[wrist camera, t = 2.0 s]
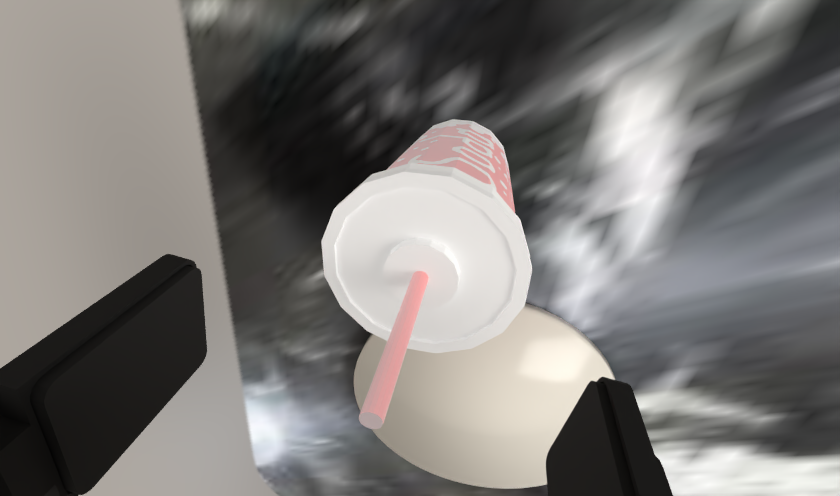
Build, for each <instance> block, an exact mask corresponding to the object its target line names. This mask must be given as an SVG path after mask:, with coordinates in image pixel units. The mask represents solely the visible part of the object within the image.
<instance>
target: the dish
mask: <svg viewBox="0 0 840 496" xmlns="http://www.w3.org/2000/svg"><path fill="white" fill-rule="evenodd" d="M386 344H387V341H386V340H384V339H382V338H380V337H378V336H376V335H374V334H371V335H370V337H369V338H368V339H367V341H366V343H365V345H364V347H363V349H362V351H361V353H360V356H359V358H358V360H357V364H356V367H355V371H354V392H355V397H356V400H357V404H358V407H359V409H360V411H361V410H362V407H363V404H364V402H365V399H366V397H367V394H368V391H369V389H370V386H371V383H372V381H373V378H374V375H375V373H376V370H377V368H378V365H379V362H380V360H381V357H382V354H383V352H384V349H385V346H386ZM601 377H606V378H609V379H613V380H615V377H614V374H613V372H612V370H611V368H610V365H609V363H608V362H607V360H606V359H605V357H604V356H603V354H602V353H601V351H600V350H599V349H598V348H597V347H596V346H595V345H594V344H593V342H592V341H591V340H590V339H589V338H588V337H587V336H585V335H584V334H583V333H582V332H580V331H579V330H578V329H577V328H575V327H574V326H573V325H571V324H570V323H568V322H566V321H565V320H563V319H561V318H560V317H558V316H556V315H554V314H552V313H550V312H548V311H546V310H543V309H541V308H539V307H536V306H533V305H530V304H527V303H525V306H524V307H523V308H522V310H521V311H520V312H519V313H518V315H517V316H516V317H515V318H514V320H513V321H512V322H511V323H510V324H509V326H508V327H507V328H506V329H505V331H504V332H503V333H501V334H499V335H497V336H495V337H493V338H491V339H490V340H488V341H486V342H484V343H482V344H480V345H478V346H476V347H474V348H472V349H465V350H458V351H450V352H443V353H431V352H425V351H419V350H413V349H408V348H407V350H406V353H405V356H404V359H403V363H402V366H401V369H400V372H399V375H398V378H397V382H396V385H395V388H394V391H393V394H392V398H391V401H390V404H389V407H388V410H387V413H386V417H385V420H384V423H383V425H382V427H381V428H379V429H372V430H373V432H374V433H375V434H376V435H377V437H378V438H379V439H381V440H382V441H383V442H384V443H385V444H386V445H387V446H388V447H389V448H390V449H392V450H393V451H394V452H395V453H397V454H398V455H399V456H401V457H402V458H404V459H405V460H407V461H408V462H410V463H412V464H414V465H416V466H418V467H419V468H421V469H423V470H426V471H428V472H430V473H432V474H435V475H438V476H440V477H443V478H446V479H449V480H453V481H456V482H460V483H464V484H469V485H474V486H480V487H489V488H506V489H510V488H527V487H535V486H540V485H545V484H547V476H546V458H547V454H548V451H549V449H550V448H551V446H552V444H553V443H554V441H555V439H556V437H557V436H558V434H559V432H560V431H561V429H562V427H563V426H564V424H565V422H566V421H567V419H568V417H569V415H570V414H571V412H572V410H573V409H574V407H575V405H576V404H577V402H578V400H579V399H580V397H581V395H582V393H583V392H584V390H585V388H586V387H587V385H588V384H589V382H590V381H596V382H597V380H598V379H599V378H601Z"/></svg>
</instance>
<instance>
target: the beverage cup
mask: <svg viewBox="0 0 840 496" xmlns="http://www.w3.org/2000/svg"><path fill="white" fill-rule="evenodd" d="M321 243H322V254H323V265H324V276H325V278H326V279H327V281H328V283H329V285H330V287H331V289H332V291H333V293H334V295H335V297H336V298H337V300H338V302H339V304H340V306H341V307H342V308H343V309H344V310H345V311H346V312H347V313H348V314H349V315H350V316H351V317H353V318H354V319H355V320H356V321H357V322H358V323H359V324H360V325H361V326H362V327H363V328H364V329H365V330H366V331H368V332H370V333H372V334H374V335H376V336H378V337H380V338H382V339H384V340H386V341H387V344H386V346H385V349H384V352H383V354H382V357H381V360H380V362H379V365H378V368H377V370H376V373H375V375H374V378H373V381H372V383H371V386H370V389H369V391H368V394H367V397H366V399H365V402H364V404H363V407H362V410H361V412H360V415H359V421H360V422H361V424H362V425H364V426H365V427H367V428H370V429H379V428H381V427H382V425H383V423H384V420H385V417H386V413H387V410H388V407H389V404H390V401H391V398H392V394H393V391H394V388H395V385H396V382H397V378H398V375H399V372H400V369H401V366H402V363H403V359H404V356H405V353H406V350H407V348H408V349H413V350H419V351H425V352H431V353H443V352H450V351H458V350H465V349H472V348H474V347H476V346H478V345H480V344H482V343H484V342H486V341H488V340H490V339H491V338H493V337H495V336H497V335H499V334H501V333H503V332H504V331H505V329H506V328H507V327H508V326H509V324H510V323H511V322H512V321H513V320H514V318H515V317H516V316H517V315H518V313H519V312H520V311H521V310H522V308H523V307H524V306H525V302H526V297H527V292H528V288H529V283H530V278H531V274H532V264H531V261H530V254H529V250H528V246H527V243H526V239H525V235H524V232H523V228H522V224H521V221H520V219H519V218H518V216H517V215H516V214H515V209H514V202H513V195H512V188H511V181H510V174H509V167H508V163H507V159H506V155H505V151H504V148H503V146H502V144H501V143H500V142H499V141H498V139H497V138H496V137H495V136H494V134H493V133H492V132H491V131H490V130H488V129H486V128H485V127H483V126H481V125H479V124H477V123H475V122H473V121H465V120H454V119H452V120H449V121H446V122H443V123H440V124H437V125H433V126H432V127H431V128H430V129H429V130H428V131H427V132H426V133H424V134H423V135H422V136H421V137H420V138H419V139H418V140H417V141H416V142H415V143H414V144H413V145H411V146H410V147H409V148H408V149H407V150H406V151H405V152H404V153H403V154H402V155H401V156H400V157H399V158H398V159H397V160H396V161H395V162H394V163H393V164H392V165H391V166H390V167H389V168H388V169H387V170H385V171H381V172H378V173H375V174H372V175H371V176H369V177H368V178H367V179H366V180H365V181H364V182H363V183H362V184H360V185H359V186H358V187H357V188H356V189H355V190H354V191H353V192H351V193H350V194H349V195H348V196H347V197H346V198H345V199H344V200H343V201H342V202H340V203H339V204H338V205H337V206H336V207H335V209H334V210H333V213H332V216H331V218H330V221H329V223H328V226H327V228H326V231H325V234H324V236H323V239H322V241H321Z"/></svg>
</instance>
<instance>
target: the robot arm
mask: <svg viewBox="0 0 840 496" xmlns="http://www.w3.org/2000/svg"><path fill="white" fill-rule="evenodd" d="M206 353H207V345H206V330H205V316H204V302H203V288H202V275H201V271H200V269H198V268H196V264H195V262H194V261H192V260H189V259H185V258H182V257H178V256H175V255H171V254H166V255H164V256H162V257H161V258H159V259H158V260H156V261H155V262H154V263H152V264H151V265H149V266H148V267H146V268H145V269H143V270H142V271H141V272H139V273H138V274H136V275H135V276H133V277H132V278H130V279H129V280H128V281H126V282H125V283H123V284H122V285H120V286H119V287H117V288H116V289H115V290H113V291H112V292H110V293H109V294H107V295H106V296H104V297H103V298H102V299H100V300H99V301H97V302H96V303H94V304H93V305H91V306H90V307H89V308H87V309H86V310H84V311H83V312H81V313H80V314H78V315H77V316H76V317H74V318H73V319H71V320H70V321H69V322H67V323H66V324H64V325H63V326H61V327H60V328H58V329H57V330H55V331H54V332H52V333H51V334H50V335H48V336H47V337H45V338H44V339H42V340H41V341H40V342H38V343H37V344H35V345H34V346H32V347H31V348H29V349H28V350H27V351H25V352H24V353H22V354H21V355H19V356H18V357H16V358H15V359H13V360H12V361H11V362H9V363H8V364H6V365H5V366H3V367H2V368H0V496H78V495H83V494H85V493H87V492H88V491H89V490H91V489H92V488H93V487H94V486H95V485H96V484H97V482H98V481H99V480H100V479H101V478H102V477H103V476H104V474H105V473H106V472H107V471H108V470H109V469H110V468H111V466H112V465H113V464H114V463H115V462H116V461H117V460H118V459H119V457H120V456H121V455H122V454H123V453H124V452H125V450H126V449H127V448H128V447H129V446H130V445H131V444H132V443H133V442H134V440H135V439H136V438H137V437H138V436H139V435H140V434H141V432H142V431H143V430H144V429H145V428H146V427H147V426H148V425H149V423H150V422H151V421H152V420H153V419H154V418H155V416H156V415H157V414H158V413H159V412H160V411H161V410H162V409H163V407H164V406H165V405H166V404H167V403H168V402H169V401H170V400H171V398H172V397H173V396H174V395H175V394H176V393H177V391H178V390H179V389H180V388H181V387H182V386H183V385H184V383H185V382H186V381H187V380H188V379H189V378H190V377H191V376H192V374H193V373H194V372H195V371H196V370H197V369H198V368H199V366H200V365H201V364H202V363H203V361H204V359H205V357H206ZM546 476H547V487H548V496H673V495H672V492H671V489H670V486H669V483H668V480H667V477H666V475H665V472H664V469H663V467H662V464H661V462H660V460H659V459H658V458H657V457H656V456H655V455H654V452H653V449H652V446H651V443H650V440H649V437H648V434H647V431H646V428H645V425H644V422H643V419H642V416H641V413H640V411H639V408H638V405H637V402H636V399H635V396H634V393H633V390H632V388H631V386H630V385H629V384H627V383H624V382H620V381H616V380H613V379H609V378H606V377H601V378H599V379H598V380H597V382H596V381H590V382H589V384H588V385H587V387H586V388H585V390H584V392H583V393H582V395H581V397H580V399H579V400H578V402H577V404H576V405H575V407H574V409H573V410H572V412H571V414H570V415H569V417H568V419H567V421H566V422H565V424H564V426H563V427H562V429H561V431H560V432H559V434H558V436H557V437H556V439H555V441H554V443H553V444H552V446H551V448H550V449H549V451H548V454H547V458H546Z"/></svg>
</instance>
